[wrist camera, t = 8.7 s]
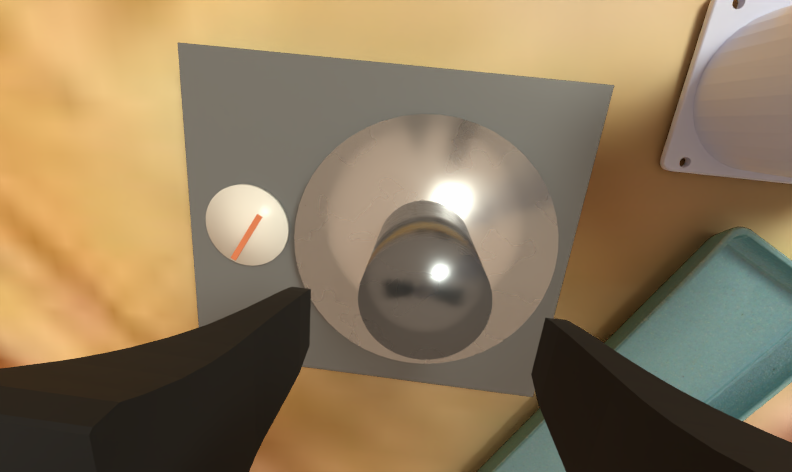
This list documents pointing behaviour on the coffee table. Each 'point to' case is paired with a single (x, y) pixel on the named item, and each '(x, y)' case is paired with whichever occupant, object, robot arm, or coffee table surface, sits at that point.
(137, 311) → the coffee table surface
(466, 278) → the cylinder
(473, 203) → the scale pan
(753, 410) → the rectangular tray
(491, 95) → the scale base
